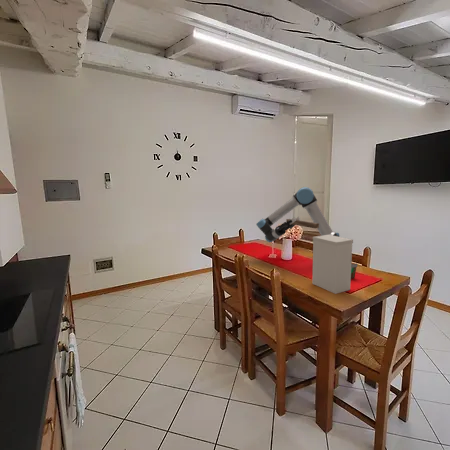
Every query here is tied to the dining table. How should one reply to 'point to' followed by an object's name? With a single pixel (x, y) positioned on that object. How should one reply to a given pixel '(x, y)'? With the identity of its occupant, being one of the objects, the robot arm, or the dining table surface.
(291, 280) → the dining table surface
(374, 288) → the dining table surface
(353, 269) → the food container
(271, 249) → the dining table surface
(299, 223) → the walnut bar
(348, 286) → the beige lidded bin
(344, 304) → the dining table surface
